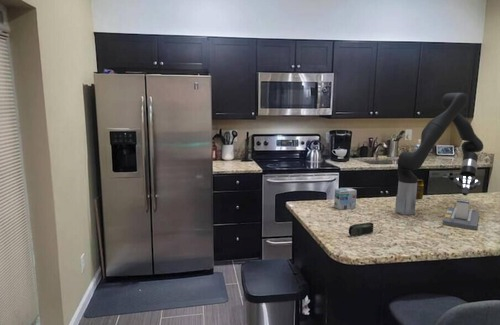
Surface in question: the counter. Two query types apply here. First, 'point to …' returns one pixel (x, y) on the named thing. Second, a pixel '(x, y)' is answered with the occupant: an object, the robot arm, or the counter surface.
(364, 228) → the mobile phone
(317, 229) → the counter surface
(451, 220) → the switch board
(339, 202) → the light bulb box
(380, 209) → the counter surface
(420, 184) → the condiment
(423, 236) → the counter surface
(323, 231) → the counter surface
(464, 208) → the slider tab
